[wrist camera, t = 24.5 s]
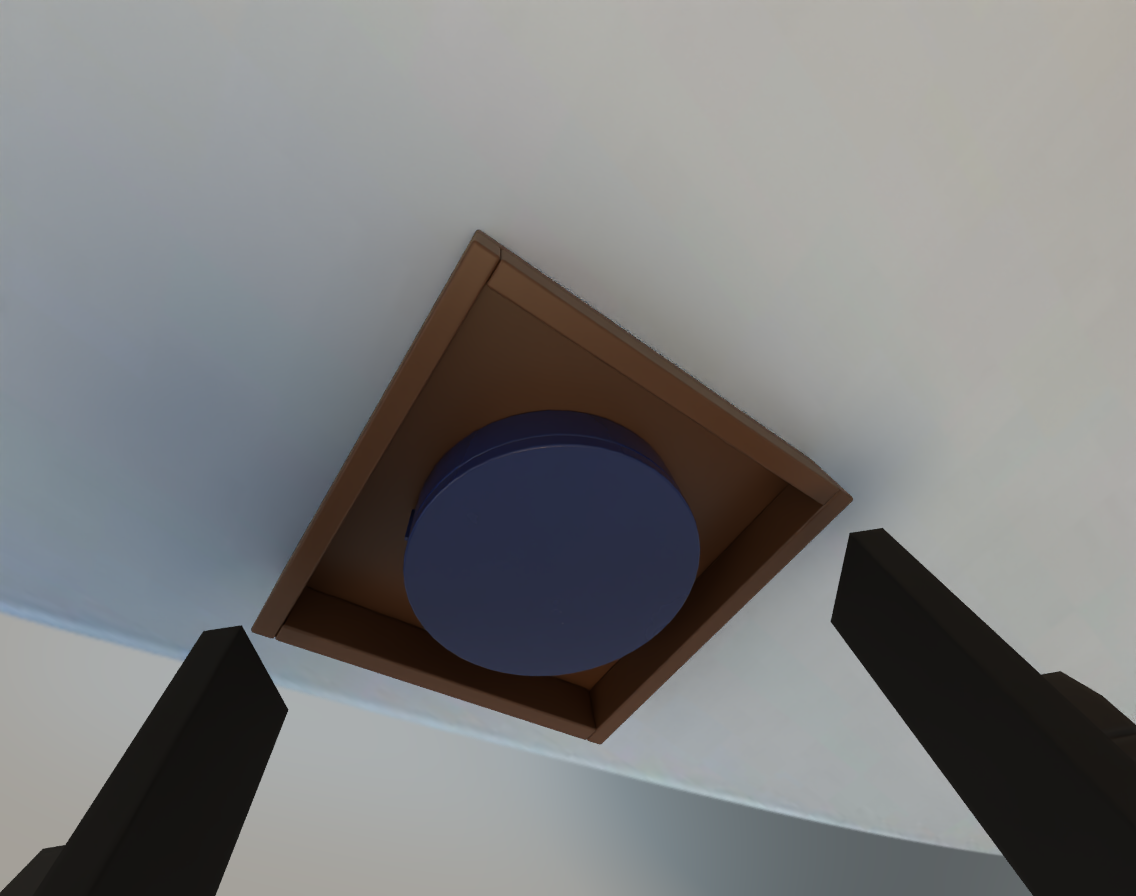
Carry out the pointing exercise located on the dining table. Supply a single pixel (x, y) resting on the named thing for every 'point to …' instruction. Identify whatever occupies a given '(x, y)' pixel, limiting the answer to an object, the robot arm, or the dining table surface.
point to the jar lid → (549, 545)
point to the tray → (511, 387)
